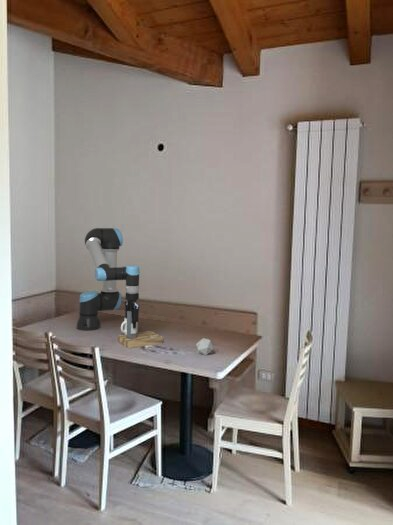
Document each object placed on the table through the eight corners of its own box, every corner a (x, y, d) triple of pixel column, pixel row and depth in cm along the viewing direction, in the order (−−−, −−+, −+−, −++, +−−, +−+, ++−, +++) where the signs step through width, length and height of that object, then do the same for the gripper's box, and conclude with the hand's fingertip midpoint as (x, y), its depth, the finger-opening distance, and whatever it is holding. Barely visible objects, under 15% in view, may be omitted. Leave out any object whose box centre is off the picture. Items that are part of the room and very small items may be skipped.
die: (198, 351, 264) (191, 339, 259) (212, 344, 264) (206, 332, 259) (202, 361, 257) (195, 349, 252) (217, 353, 257) (210, 341, 252)
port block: (117, 342, 274) (118, 335, 273) (150, 337, 286) (150, 330, 286) (129, 348, 262) (129, 341, 262) (162, 343, 275) (162, 336, 275)
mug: (124, 337, 284) (125, 321, 282) (116, 334, 289) (116, 318, 288) (140, 334, 292) (140, 318, 291) (131, 331, 298) (131, 315, 297)
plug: (126, 338, 271) (127, 311, 269) (132, 337, 273) (133, 310, 271) (129, 339, 268) (130, 312, 266) (135, 338, 270) (136, 311, 268)
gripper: (119, 290, 272) (118, 329, 275) (133, 295, 258) (132, 336, 261) (131, 289, 276) (130, 328, 279) (145, 294, 263) (144, 335, 265)
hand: (131, 332), depth 270 cm, fingers closed on plug, 4 cm apart
